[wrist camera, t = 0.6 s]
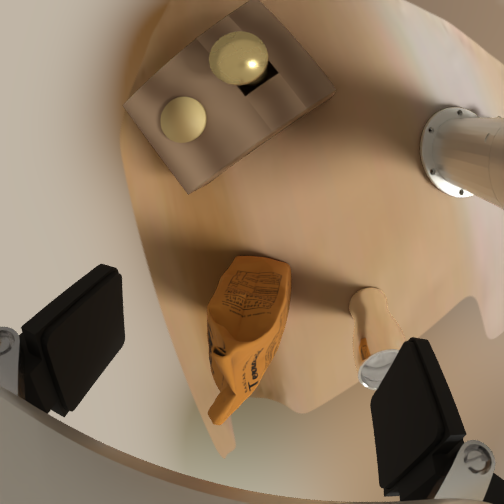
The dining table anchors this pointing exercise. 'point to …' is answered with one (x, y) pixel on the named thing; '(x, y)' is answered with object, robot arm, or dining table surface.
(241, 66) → the brass peg
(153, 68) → the dining table surface
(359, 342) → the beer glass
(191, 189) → the walnut block
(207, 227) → the dining table surface
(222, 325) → the coffee package
